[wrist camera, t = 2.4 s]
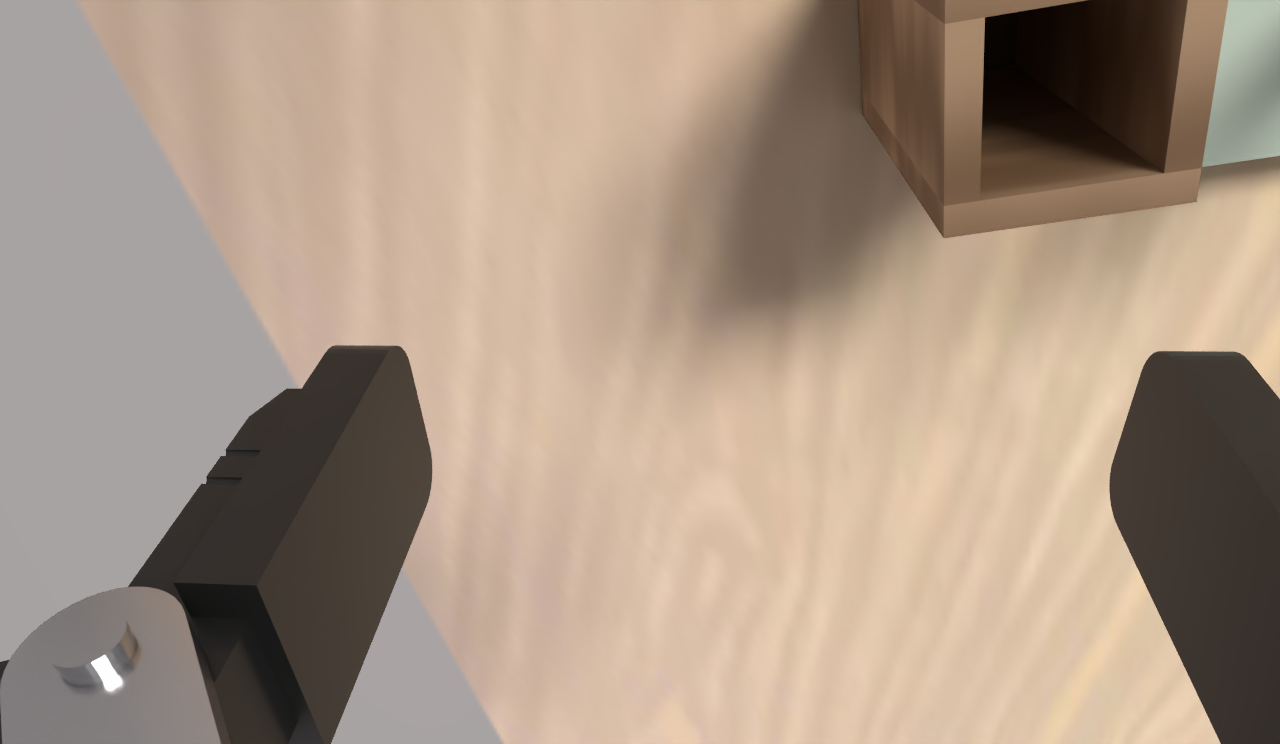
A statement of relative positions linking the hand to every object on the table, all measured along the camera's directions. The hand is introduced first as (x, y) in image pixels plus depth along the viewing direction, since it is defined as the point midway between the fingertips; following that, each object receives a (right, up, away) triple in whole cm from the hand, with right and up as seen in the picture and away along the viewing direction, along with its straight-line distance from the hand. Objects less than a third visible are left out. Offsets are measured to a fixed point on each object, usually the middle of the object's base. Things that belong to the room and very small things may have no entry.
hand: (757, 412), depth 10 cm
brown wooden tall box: (+8, +12, +18) cm, 23 cm away
